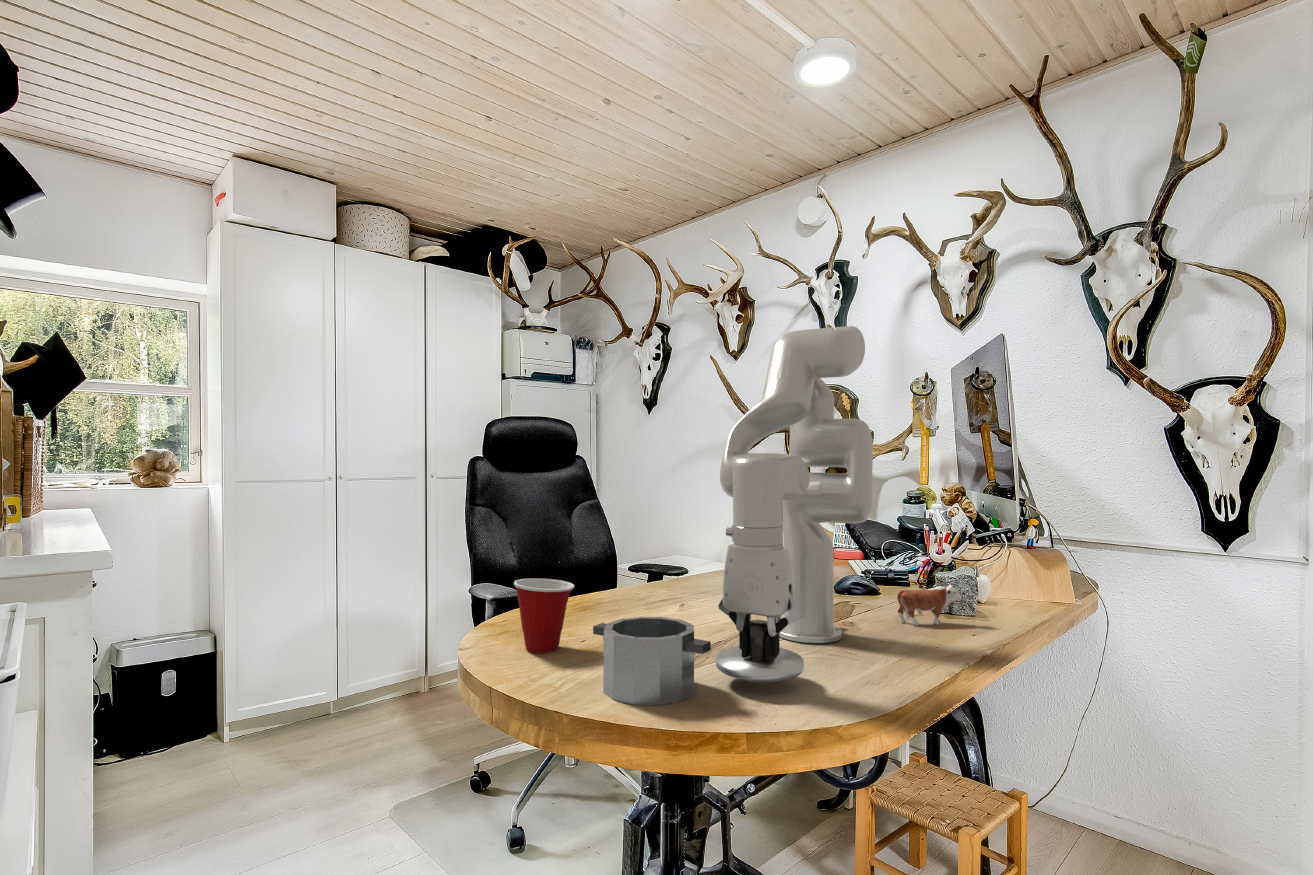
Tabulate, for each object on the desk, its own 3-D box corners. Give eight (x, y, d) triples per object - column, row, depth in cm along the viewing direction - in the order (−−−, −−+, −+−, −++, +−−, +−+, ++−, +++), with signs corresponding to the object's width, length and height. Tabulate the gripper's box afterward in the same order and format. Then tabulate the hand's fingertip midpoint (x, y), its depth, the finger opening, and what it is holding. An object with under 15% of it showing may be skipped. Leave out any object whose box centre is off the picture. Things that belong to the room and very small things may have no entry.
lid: (737, 652, 108) (737, 607, 108) (815, 666, 102) (814, 617, 102) (701, 677, 97) (700, 627, 97) (785, 695, 90) (785, 640, 90)
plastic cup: (578, 654, 113) (579, 585, 114) (515, 659, 110) (516, 588, 111) (569, 638, 124) (569, 574, 124) (510, 642, 121) (511, 577, 121)
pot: (621, 665, 107) (622, 610, 108) (727, 687, 97) (727, 626, 98) (570, 689, 96) (570, 627, 97) (683, 716, 86) (683, 648, 86)
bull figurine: (964, 626, 135) (964, 586, 135) (900, 626, 135) (900, 586, 135) (954, 621, 139) (954, 582, 140) (892, 621, 139) (892, 582, 139)
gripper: (698, 536, 101) (700, 655, 101) (801, 544, 92) (803, 675, 92) (720, 530, 107) (721, 642, 107) (818, 537, 98) (820, 659, 98)
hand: (759, 656), depth 99 cm, fingers closed on lid, 3 cm apart
